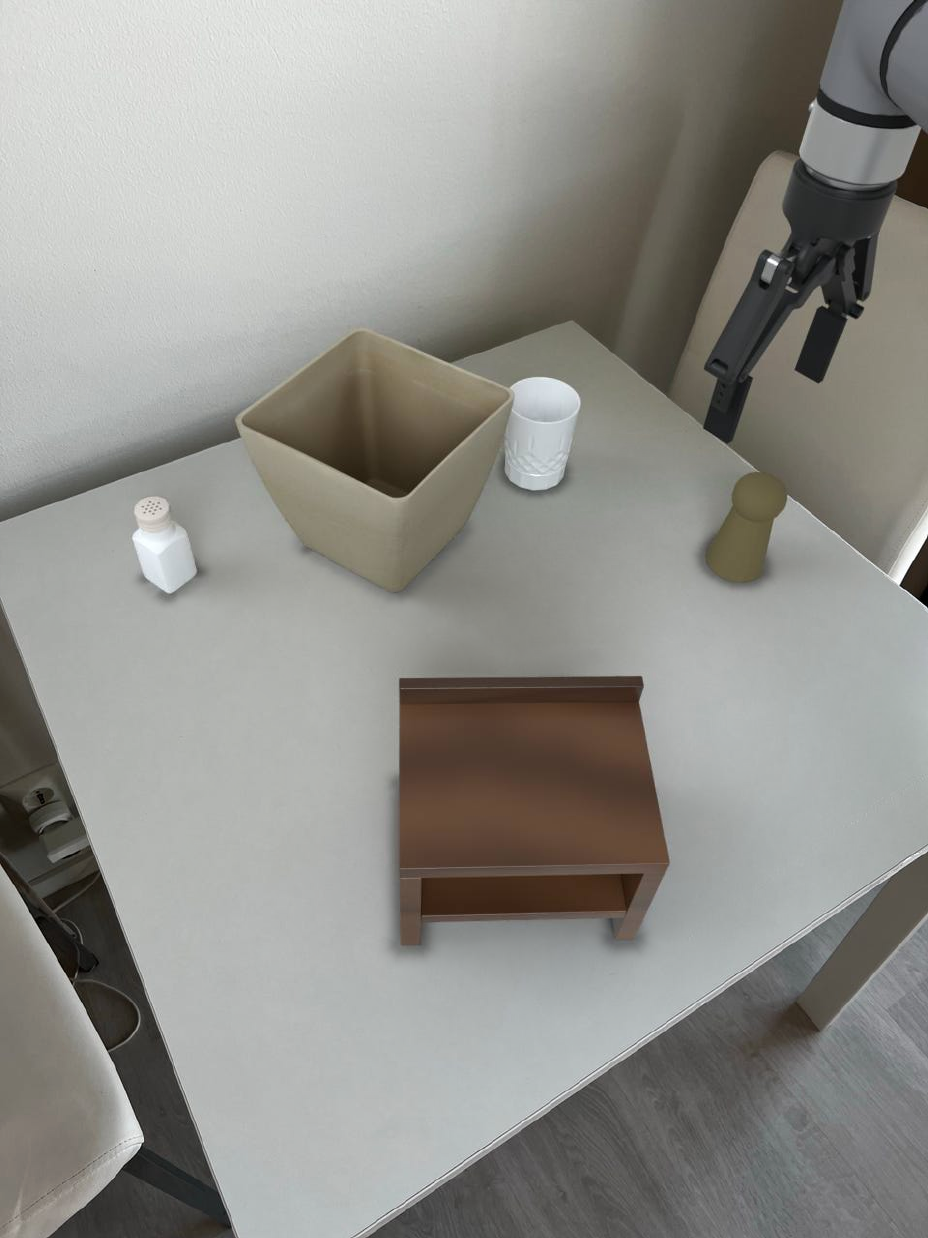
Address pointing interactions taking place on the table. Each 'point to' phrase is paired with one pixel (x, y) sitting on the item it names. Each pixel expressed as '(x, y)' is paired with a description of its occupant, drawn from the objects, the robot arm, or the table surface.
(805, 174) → the robot arm
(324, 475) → the flower pot
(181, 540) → the salt shaker
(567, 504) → the table surface
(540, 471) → the white cup
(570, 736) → the miniature wooden nightstand
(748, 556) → the olive pawn
